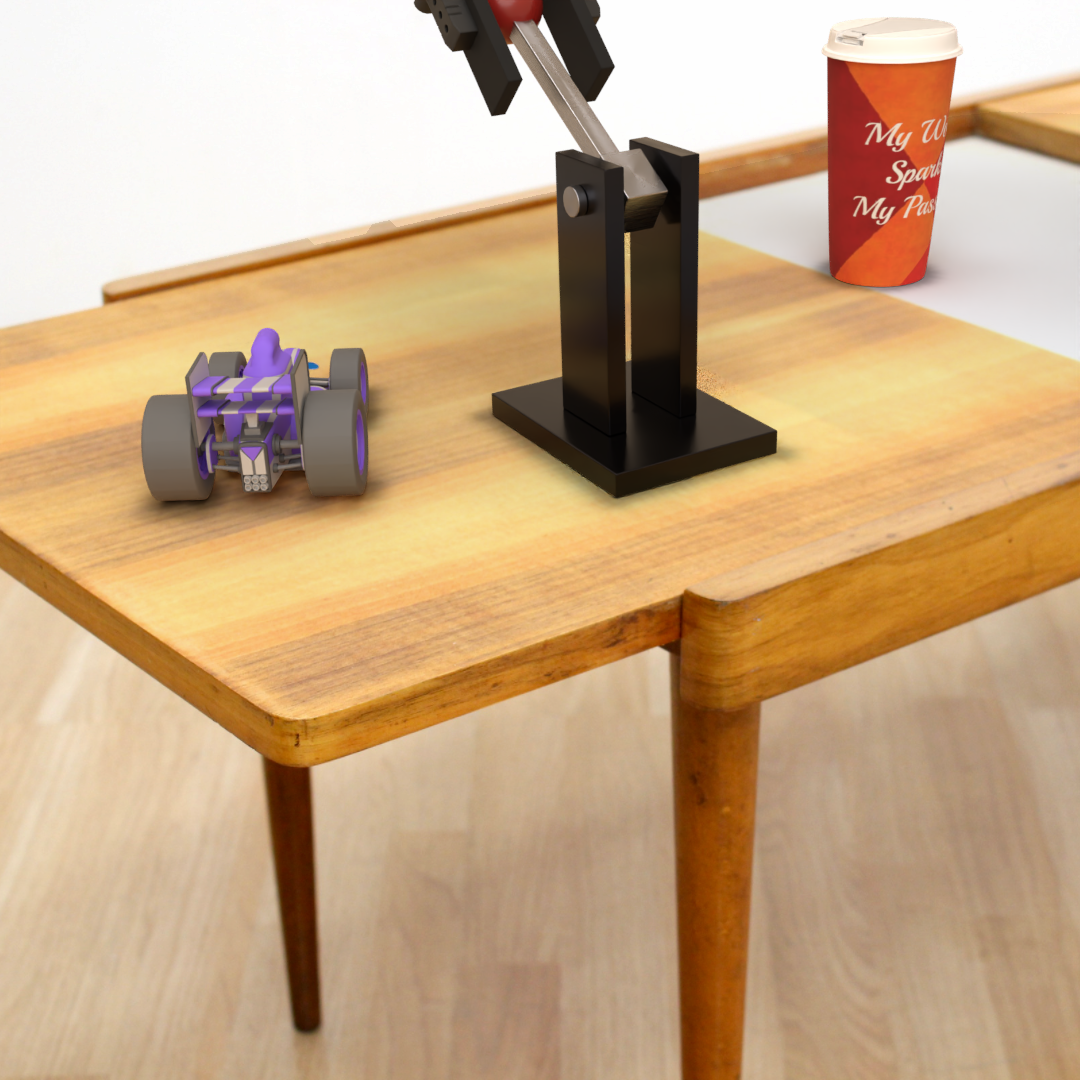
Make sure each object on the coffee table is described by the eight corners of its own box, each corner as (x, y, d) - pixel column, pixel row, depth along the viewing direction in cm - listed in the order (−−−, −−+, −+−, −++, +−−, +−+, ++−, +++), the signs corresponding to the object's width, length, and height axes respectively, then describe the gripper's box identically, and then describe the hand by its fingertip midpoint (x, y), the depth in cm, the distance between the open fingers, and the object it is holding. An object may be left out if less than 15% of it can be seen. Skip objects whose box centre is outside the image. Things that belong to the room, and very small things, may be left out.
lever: (452, 16, 78) (466, -45, 75) (515, 8, 79) (531, -52, 77) (596, 248, 71) (618, 190, 68) (662, 235, 73) (686, 178, 70)
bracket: (492, 414, 79) (477, 142, 73) (640, 378, 83) (638, 117, 77) (616, 498, 70) (611, 194, 64) (777, 453, 74) (787, 162, 67)
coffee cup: (876, 301, 93) (893, 42, 86) (784, 270, 99) (793, 26, 93) (973, 274, 97) (997, 25, 90) (879, 246, 103) (895, 10, 97)
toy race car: (392, 390, 83) (382, 272, 80) (361, 513, 69) (348, 376, 66) (214, 396, 83) (198, 278, 80) (149, 519, 70) (126, 383, 67)
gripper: (511, -233, 87) (673, 114, 82) (213, -220, 80) (369, 162, 74) (555, -348, 80) (735, 21, 75) (235, -346, 73) (408, 63, 68)
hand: (552, 90), depth 75 cm, fingers open, 4 cm apart
